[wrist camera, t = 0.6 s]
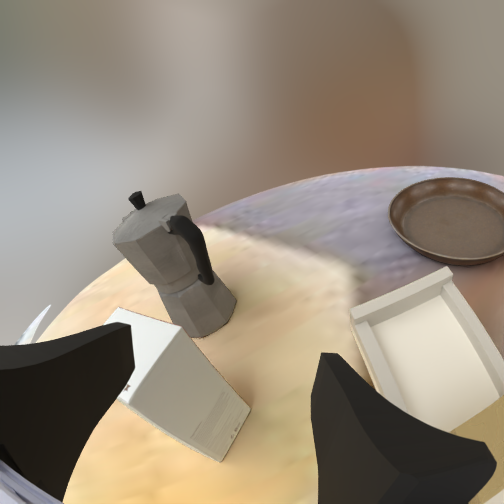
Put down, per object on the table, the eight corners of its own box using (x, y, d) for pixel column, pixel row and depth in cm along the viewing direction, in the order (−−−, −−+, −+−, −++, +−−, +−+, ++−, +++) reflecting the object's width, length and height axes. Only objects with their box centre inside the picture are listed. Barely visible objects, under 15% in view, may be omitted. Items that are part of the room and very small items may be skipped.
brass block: (513, 461, 8) (551, 447, 5) (452, 503, 9) (481, 505, 6) (490, 406, 12) (522, 379, 9) (431, 443, 13) (454, 428, 9)
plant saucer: (367, 215, 43) (364, 196, 41) (462, 182, 41) (462, 166, 39) (437, 305, 26) (441, 283, 24) (542, 245, 24) (547, 225, 22)
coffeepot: (155, 318, 40) (83, 215, 30) (199, 277, 45) (143, 173, 35) (225, 367, 30) (130, 229, 20) (277, 307, 34) (217, 165, 24)
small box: (253, 408, 25) (184, 324, 17) (221, 464, 20) (126, 406, 13) (190, 384, 29) (117, 304, 22) (160, 430, 25) (70, 361, 18)
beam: (540, 500, 5) (562, 496, 3) (433, 571, 5) (445, 582, 3) (440, 290, 22) (446, 265, 20) (351, 330, 22) (349, 309, 20)
